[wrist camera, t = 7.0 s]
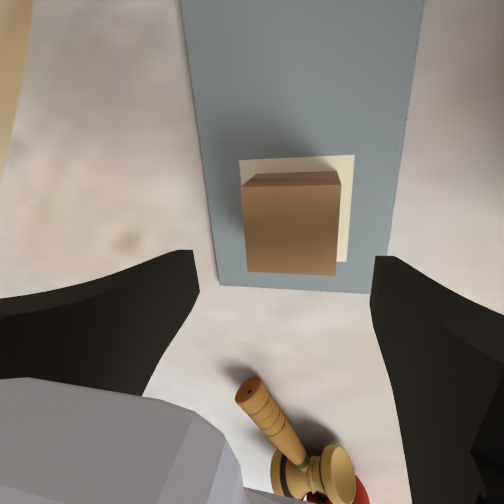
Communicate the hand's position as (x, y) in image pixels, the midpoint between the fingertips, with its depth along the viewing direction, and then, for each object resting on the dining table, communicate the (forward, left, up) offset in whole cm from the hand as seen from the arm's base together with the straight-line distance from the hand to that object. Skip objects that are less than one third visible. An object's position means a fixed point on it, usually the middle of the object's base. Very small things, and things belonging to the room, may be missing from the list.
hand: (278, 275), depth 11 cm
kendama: (-18, +16, -9) cm, 26 cm away
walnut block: (0, 0, -8) cm, 8 cm away
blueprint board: (+5, -4, -9) cm, 11 cm away
